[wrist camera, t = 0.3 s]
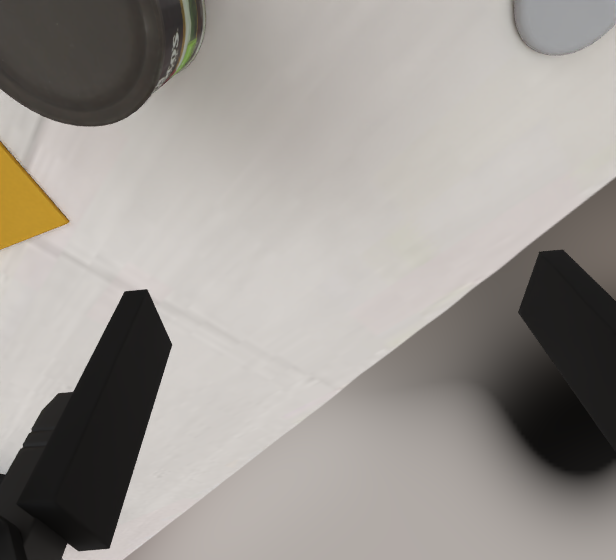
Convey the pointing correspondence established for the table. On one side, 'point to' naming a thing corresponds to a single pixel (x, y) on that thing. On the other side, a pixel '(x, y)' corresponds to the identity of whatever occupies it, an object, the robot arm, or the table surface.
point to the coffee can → (94, 54)
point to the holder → (563, 23)
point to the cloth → (23, 204)
